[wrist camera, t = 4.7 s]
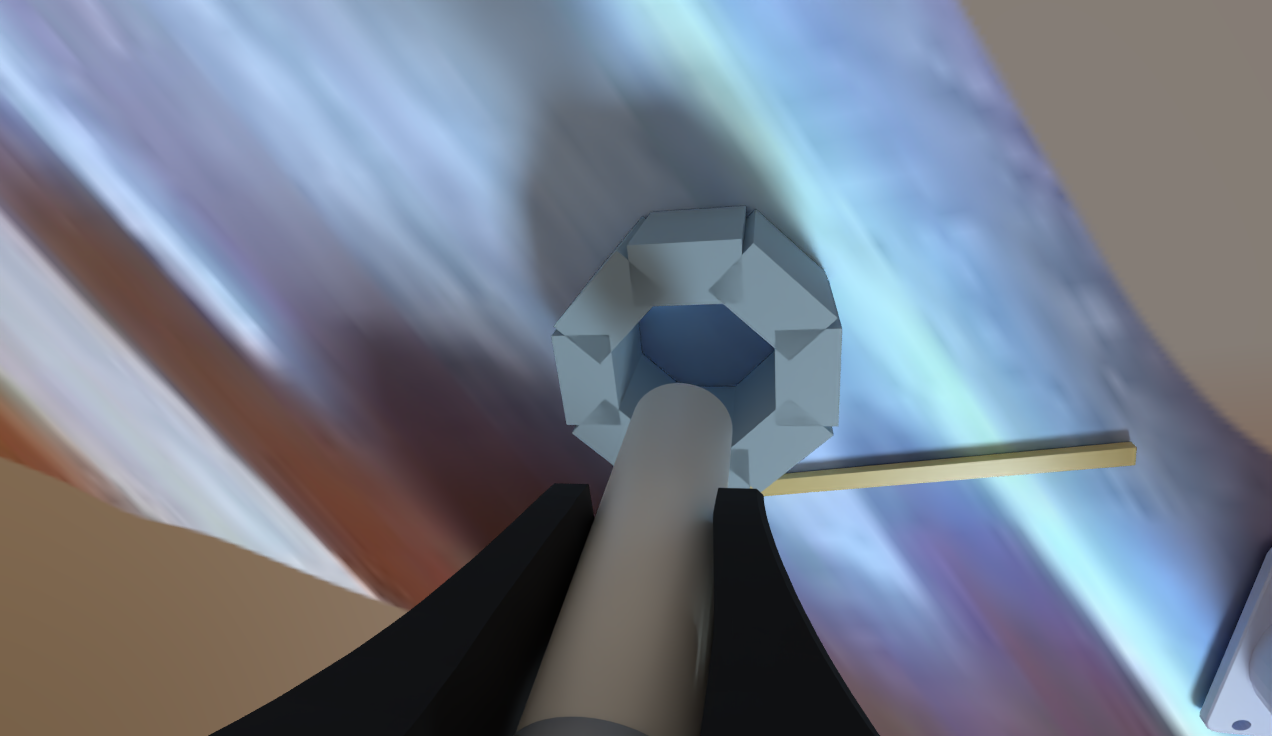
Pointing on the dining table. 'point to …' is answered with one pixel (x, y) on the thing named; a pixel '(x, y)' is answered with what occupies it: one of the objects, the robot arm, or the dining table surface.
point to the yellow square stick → (957, 468)
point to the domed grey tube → (642, 583)
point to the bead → (695, 275)
